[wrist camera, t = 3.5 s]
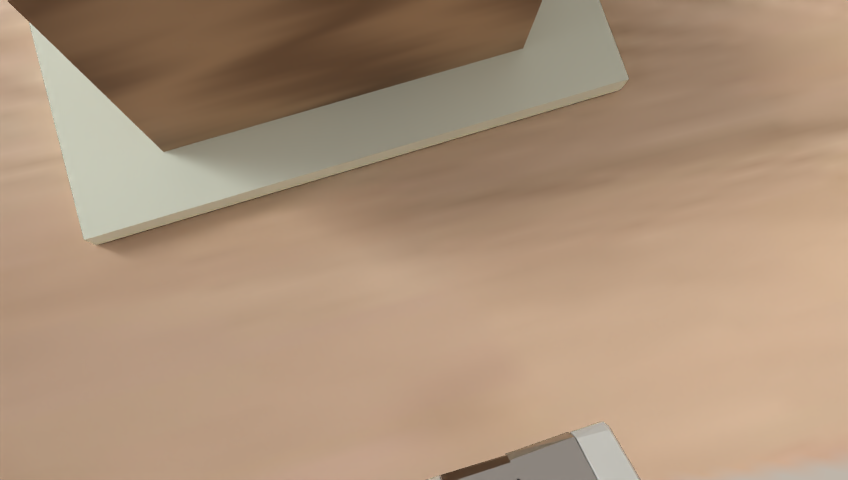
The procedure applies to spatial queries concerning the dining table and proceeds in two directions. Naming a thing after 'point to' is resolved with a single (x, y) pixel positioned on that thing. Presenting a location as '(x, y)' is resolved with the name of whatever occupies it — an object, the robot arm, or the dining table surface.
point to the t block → (264, 53)
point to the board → (314, 126)
